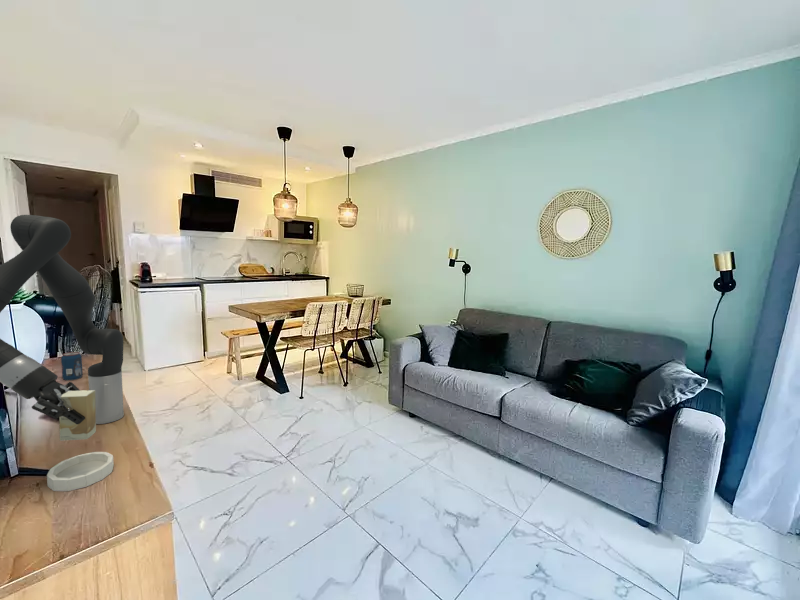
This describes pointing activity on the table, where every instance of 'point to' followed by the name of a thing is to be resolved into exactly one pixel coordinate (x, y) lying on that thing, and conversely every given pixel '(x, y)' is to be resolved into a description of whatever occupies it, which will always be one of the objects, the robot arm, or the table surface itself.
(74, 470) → the ceramic dish
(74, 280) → the robot arm
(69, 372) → the blue carton
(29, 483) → the table surface
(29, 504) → the table surface
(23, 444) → the table surface
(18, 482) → the table surface
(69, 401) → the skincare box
